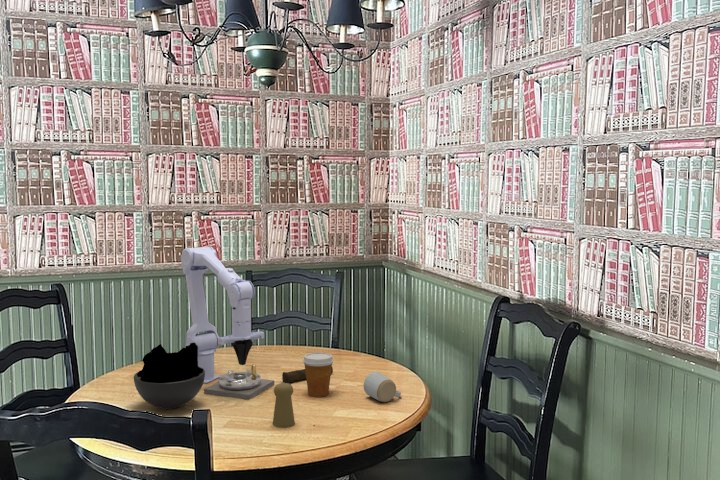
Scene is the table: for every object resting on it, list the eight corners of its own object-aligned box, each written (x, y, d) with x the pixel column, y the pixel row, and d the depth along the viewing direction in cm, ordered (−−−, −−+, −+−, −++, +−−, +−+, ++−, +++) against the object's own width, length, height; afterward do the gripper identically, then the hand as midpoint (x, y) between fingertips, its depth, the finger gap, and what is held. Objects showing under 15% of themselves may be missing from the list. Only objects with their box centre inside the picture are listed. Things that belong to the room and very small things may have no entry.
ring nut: (210, 387, 208) (210, 366, 207) (233, 376, 220) (232, 356, 219) (247, 391, 203) (247, 371, 203) (267, 380, 215) (267, 360, 215)
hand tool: (287, 385, 217) (287, 371, 216) (281, 382, 220) (281, 368, 220) (336, 376, 227) (336, 363, 227) (330, 373, 231) (330, 360, 230)
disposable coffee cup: (309, 400, 201) (309, 361, 200) (298, 391, 210) (298, 353, 209) (338, 396, 205) (338, 357, 204) (326, 387, 214) (326, 350, 213)
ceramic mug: (377, 405, 197) (378, 379, 196) (362, 397, 204) (363, 373, 203) (406, 399, 203) (407, 375, 202) (391, 392, 210) (391, 368, 209)
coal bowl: (121, 417, 186) (119, 350, 185) (153, 394, 206) (151, 334, 204) (190, 420, 184) (188, 353, 182) (215, 397, 203) (214, 336, 202)
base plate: (204, 393, 207) (203, 388, 207) (231, 379, 222) (231, 374, 222) (249, 399, 201) (249, 394, 201) (274, 384, 216) (274, 379, 216)
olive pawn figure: (273, 420, 184) (272, 381, 183) (295, 419, 185) (294, 380, 184) (272, 428, 178) (271, 387, 177) (294, 427, 179) (294, 387, 178)
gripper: (225, 326, 198) (226, 371, 199) (268, 320, 206) (269, 363, 207) (215, 322, 203) (216, 365, 204) (257, 316, 212) (258, 358, 213)
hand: (242, 364), depth 206 cm, fingers closed
